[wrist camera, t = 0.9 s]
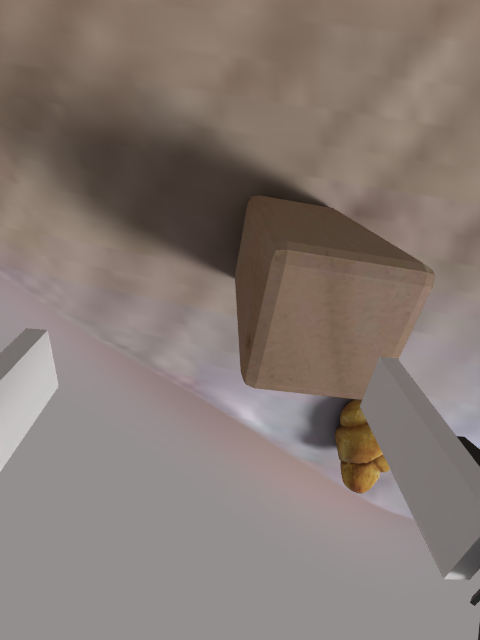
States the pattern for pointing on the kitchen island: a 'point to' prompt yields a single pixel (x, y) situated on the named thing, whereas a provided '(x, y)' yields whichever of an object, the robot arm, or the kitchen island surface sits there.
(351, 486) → the bread roll
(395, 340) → the wooden block
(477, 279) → the kitchen island surface
